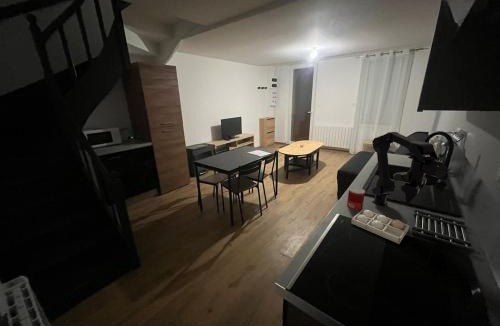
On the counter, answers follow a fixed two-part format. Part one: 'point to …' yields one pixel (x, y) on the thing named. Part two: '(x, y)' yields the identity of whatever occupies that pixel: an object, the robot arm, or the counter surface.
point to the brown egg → (397, 224)
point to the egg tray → (386, 231)
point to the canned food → (355, 198)
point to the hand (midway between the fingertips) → (410, 199)
